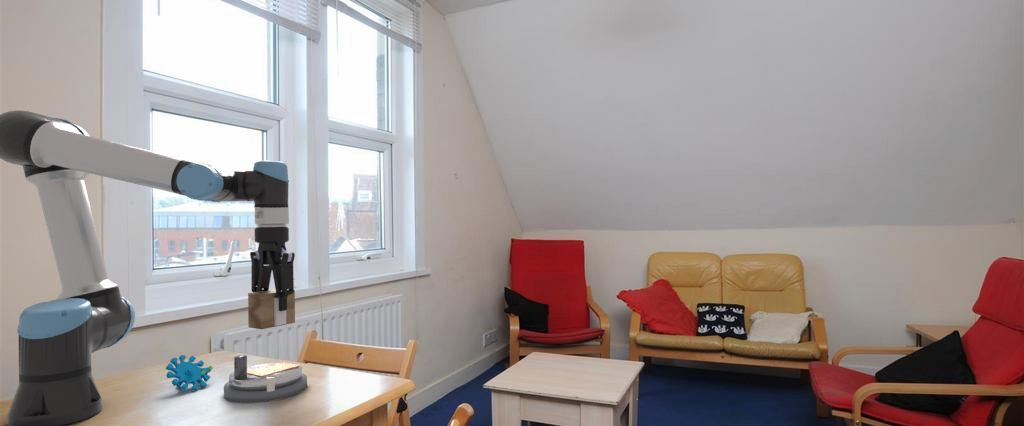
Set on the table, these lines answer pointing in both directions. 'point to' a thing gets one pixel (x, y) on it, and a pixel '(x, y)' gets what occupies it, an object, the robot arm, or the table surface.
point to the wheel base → (265, 391)
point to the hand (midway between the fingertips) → (272, 323)
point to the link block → (267, 309)
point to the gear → (188, 373)
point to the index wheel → (262, 374)
